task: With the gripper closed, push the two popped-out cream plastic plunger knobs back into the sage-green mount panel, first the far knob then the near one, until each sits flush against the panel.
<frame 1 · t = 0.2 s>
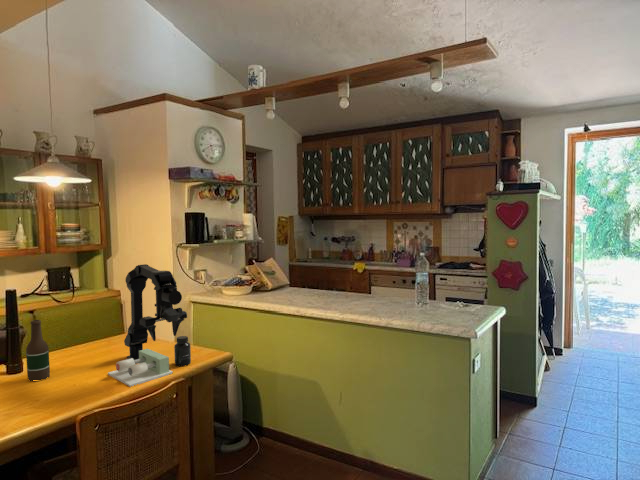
hand: (164, 338, 183), 14 cm above the table, fingers open, 9 cm apart
supplement bottle: (183, 364, 193), on the table
mount: (142, 373, 182), on the table
knob b: (144, 367, 178), point 4 cm above the table, slide at 4.0 cm
beer bottle: (39, 378, 178), on the table
knob a: (132, 363, 183), point 4 cm above the table, slide at 5.0 cm
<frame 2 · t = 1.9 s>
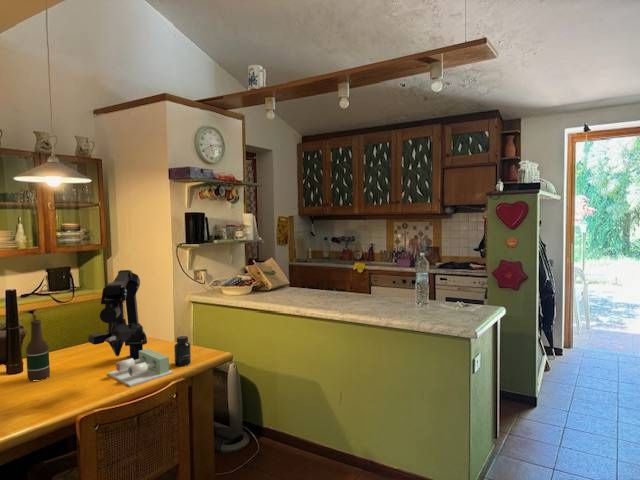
hand: (117, 356, 170), 11 cm above the table, fingers closed
nothing on the table moved.
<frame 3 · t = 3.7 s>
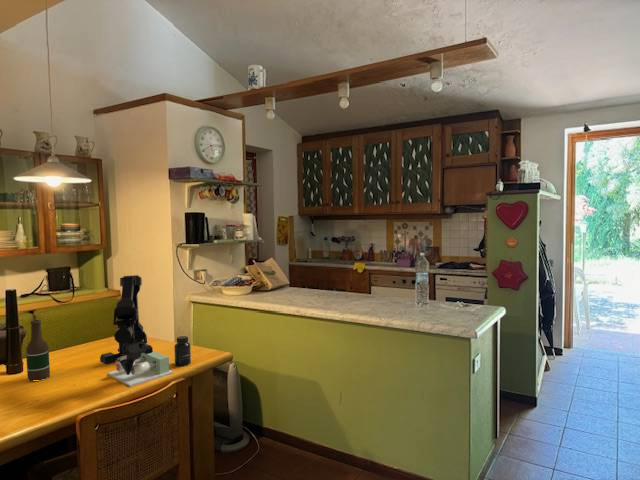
hand: (128, 374, 173), 3 cm above the table, fingers closed
knob b: (146, 366, 179), point 4 cm above the table, slide at 3.1 cm, touching gripper
everything else where it was.
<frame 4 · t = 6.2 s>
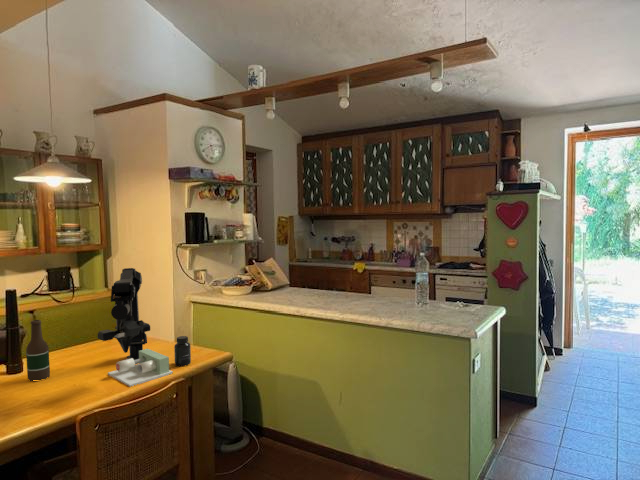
hand: (125, 352, 173), 12 cm above the table, fingers closed
knob b: (154, 364, 181), point 4 cm above the table, slide at 0.0 cm, touching mount
everything else where it was.
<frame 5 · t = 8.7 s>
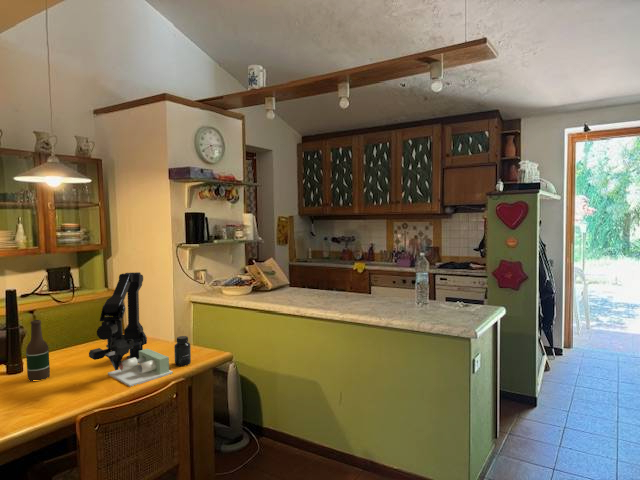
hand: (116, 369, 179), 3 cm above the table, fingers closed
knob a: (135, 362, 184), point 4 cm above the table, slide at 3.7 cm, touching gripper
everything else where it was.
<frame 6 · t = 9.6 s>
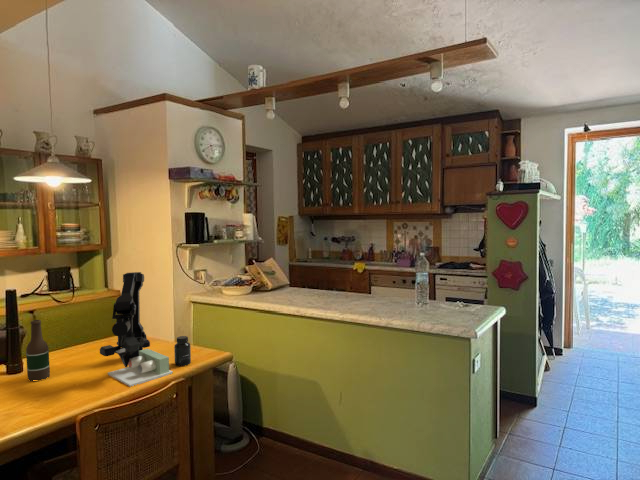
hand: (125, 367, 182), 3 cm above the table, fingers closed
knob a: (143, 359, 187), point 4 cm above the table, slide at 0.0 cm, touching gripper, mount
everything else where it was.
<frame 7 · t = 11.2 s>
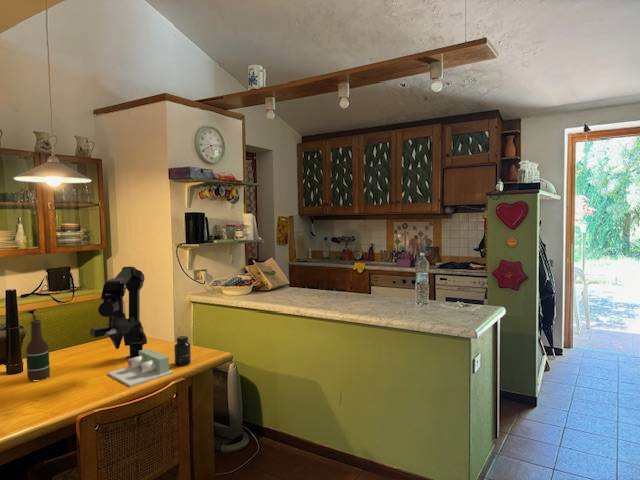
hand: (117, 348, 178), 12 cm above the table, fingers closed
knob a: (143, 359, 187), point 4 cm above the table, slide at 0.0 cm, touching mount
everything else where it was.
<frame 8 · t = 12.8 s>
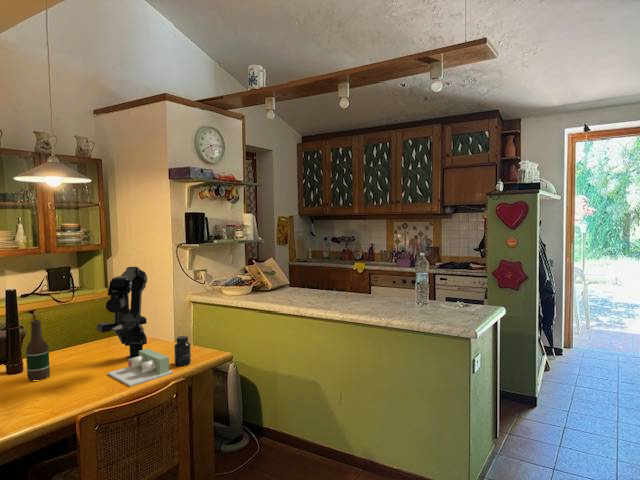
hand: (123, 343, 184), 12 cm above the table, fingers closed
nothing on the table moved.
at the end: knob a slide at 0.0 cm; knob b slide at 0.0 cm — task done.
